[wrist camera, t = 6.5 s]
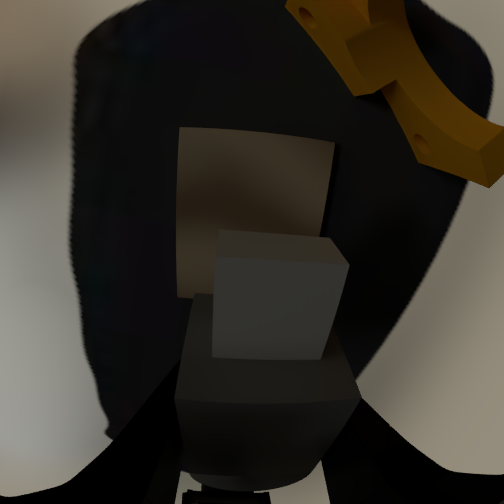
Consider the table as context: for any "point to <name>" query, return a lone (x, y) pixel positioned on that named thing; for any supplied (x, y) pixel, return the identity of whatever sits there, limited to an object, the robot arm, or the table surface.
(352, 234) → the table surface
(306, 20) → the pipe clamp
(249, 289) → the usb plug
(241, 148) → the trivet
